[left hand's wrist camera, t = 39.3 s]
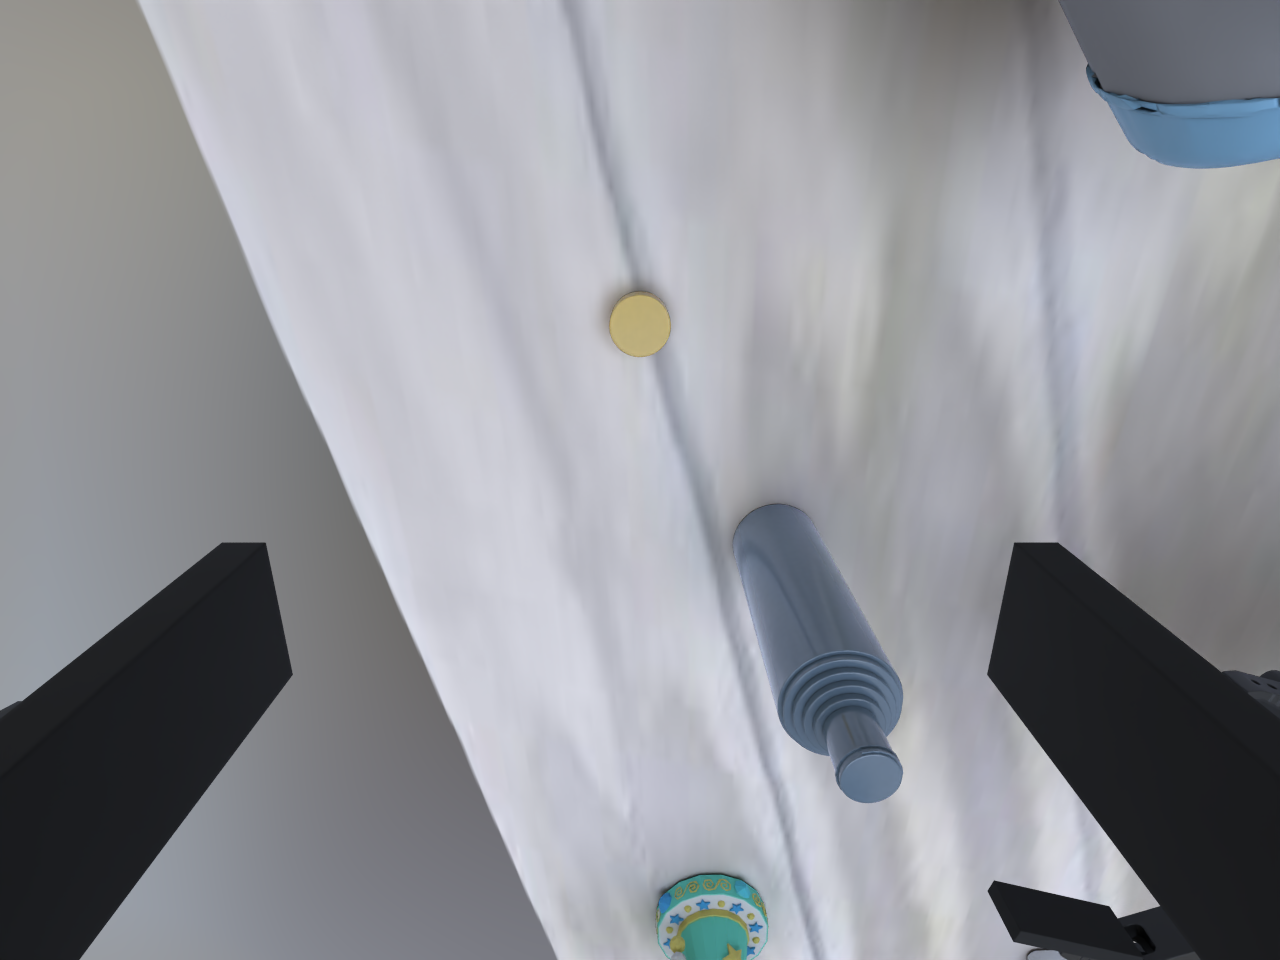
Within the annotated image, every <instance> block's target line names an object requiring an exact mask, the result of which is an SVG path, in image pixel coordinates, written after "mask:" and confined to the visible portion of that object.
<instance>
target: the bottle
mask: <svg viewBox="0 0 1280 960" xmlns="http://www.w3.org/2000/svg"><path fill="white" fill-rule="evenodd" d="M733 552H734V556H735V559H736V563H737V566H738V570H739V574H740V577H741V581H742V585H743V588H744V592H745V596H746V599H747V603H748V607H749V610H750V614H751V618H752V621H753V625H754V628H755V632H756V636H757V639H758V643H759V647H760V650H761V654H762V658H763V661H764V665H765V669H766V672H767V676H768V680H769V683H770V687H771V691H772V694H773V698H774V701H775V705H776V709H777V712H778V716H779V719H780V722H781V724H782V726H783V728H784V729H785V731H786V732H787V734H788V735H789V736H790V737H791V738H792V739H794V740H795V741H796V742H797V743H799V744H800V745H801V746H802V747H804V748H806V749H807V750H809V751H812V752H814V753H817V754H821V755H826V756H830V758H831V761H832V764H833V767H834V769H835V777H836V782H837V784H838V786H839V787H840V789H841V790H842V791H843V792H844V794H845V795H846V796H848V797H849V798H850V799H852V800H854V801H857V802H861V803H874V802H879V801H882V800H884V799H886V798H888V797H890V796H891V795H892V794H893V793H894V792H895V791H896V790H897V789H898V787H899V786H900V784H901V780H902V775H903V769H902V765H901V763H900V762H899V759H898V757H897V755H896V753H894V752H893V751H892V749H891V747H890V745H889V742H888V740H887V738H886V737H887V736H888V735H889V734H890V733H891V731H892V730H893V729H894V727H895V726H896V724H897V722H898V720H899V717H900V714H901V709H902V703H903V690H902V685H901V682H900V680H899V677H898V676H897V674H896V672H895V670H894V668H893V667H892V665H891V663H890V661H889V659H888V657H887V656H886V654H885V652H884V650H883V648H882V647H881V645H880V643H879V641H878V639H877V638H876V636H875V634H874V632H873V630H872V629H871V627H870V625H869V623H868V621H867V620H866V618H865V616H864V614H863V612H862V611H861V609H860V607H859V605H858V603H857V602H856V600H855V598H854V596H853V594H852V593H851V591H850V589H849V587H848V585H847V583H846V582H845V580H844V578H843V576H842V574H841V573H840V571H839V569H838V567H837V565H836V564H835V562H834V560H833V558H832V556H831V555H830V553H829V551H828V549H827V547H826V546H825V544H824V542H823V540H822V538H821V537H820V535H819V533H818V531H817V529H816V528H815V526H814V524H813V522H812V521H811V519H810V518H809V517H808V516H807V515H806V514H805V513H804V512H802V511H801V510H799V509H797V508H795V507H792V506H789V505H783V504H772V505H767V506H763V507H761V508H758V509H756V510H754V511H753V512H751V513H750V514H748V515H747V516H746V517H745V518H744V519H743V520H742V521H741V523H740V524H739V526H738V527H737V529H736V531H735V534H734V538H733Z"/></svg>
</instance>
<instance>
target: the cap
mask: <svg viewBox="0 0 1280 960" xmlns="http://www.w3.org/2000/svg"><path fill="white" fill-rule="evenodd" d="M609 329H610V334H611V337H612V340H613V341H614V343H615V345H616V346H617V347H618V348H619V349H620V350H621V351H623V352H624V353H626V354H628V355H631V356H635V357H645V356H649V355H652V354H654V353H656V352H657V351H659V350H660V349H661V348H662V347H663V346H664V345H665V343H666V342H667V340H668V337H669V334H670V329H671V323H670V318H669V314H668V311H667V308H666V306H665V305H664V303H663V302H662V301H661V300H660V299H659V298H658V297H657V296H655V295H653V294H651V293H648V292H643V291H637V292H632V293H629V294H627V295H625V296H623V297H622V298H621V299H620V300H619V301H618V302H617V303H616V305H615V306H614V308H613V311H612V314H611V318H610V323H609Z"/></svg>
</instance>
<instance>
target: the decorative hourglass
mask: <svg viewBox="0 0 1280 960" xmlns="http://www.w3.org/2000/svg"><path fill="white" fill-rule="evenodd" d="M656 925H657V926H656ZM655 927H656V928H657V934H658V944H659V945H660V947H661V949H662V950H663V952H664V953H665V955H666V957H667V958H669V959H670V960H752V959H754V958H755V957H756V956H758V955H759V953H760V952H761V950H762V949H763V947H764V945H765V944H766V942H767V937H768V920H767V915H766V910H765V906H764V904H763V902H762V900H761V898H760V896H759V894H758V893H757V891H756V890H755V889H753V888H752V887H750V886H749V885H748V884H746V883H745V882H743V881H742V880H739V879H735V878H732V877H728V876H724V875H699V876H696V877H693V878H690V879H687V880H684V881H681V882H679V883H678V884H676V885H675V886H674V887H673V888H671V889H670V890H669V891H667V892H666V893H665V894H664V895H663V896H662V897H661V898H660V900H659V905H658V907H657V913H656V921H655Z"/></svg>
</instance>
